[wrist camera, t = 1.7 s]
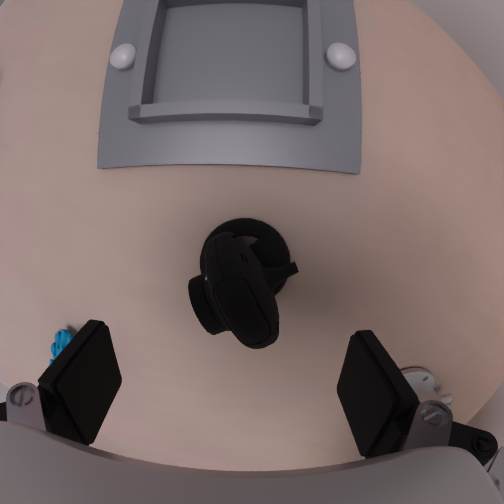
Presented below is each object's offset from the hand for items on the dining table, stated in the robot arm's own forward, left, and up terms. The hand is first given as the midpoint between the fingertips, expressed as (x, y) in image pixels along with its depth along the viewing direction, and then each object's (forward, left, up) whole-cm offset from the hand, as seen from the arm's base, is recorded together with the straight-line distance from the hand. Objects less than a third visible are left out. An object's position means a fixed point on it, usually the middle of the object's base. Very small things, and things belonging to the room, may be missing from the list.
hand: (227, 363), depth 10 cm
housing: (+2, -18, -14) cm, 23 cm away
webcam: (0, 0, -15) cm, 15 cm away
